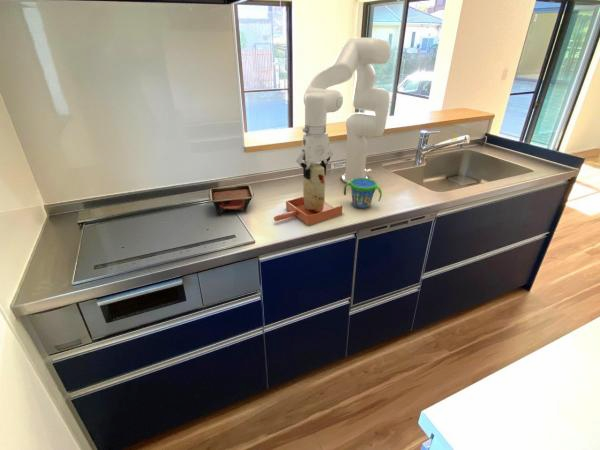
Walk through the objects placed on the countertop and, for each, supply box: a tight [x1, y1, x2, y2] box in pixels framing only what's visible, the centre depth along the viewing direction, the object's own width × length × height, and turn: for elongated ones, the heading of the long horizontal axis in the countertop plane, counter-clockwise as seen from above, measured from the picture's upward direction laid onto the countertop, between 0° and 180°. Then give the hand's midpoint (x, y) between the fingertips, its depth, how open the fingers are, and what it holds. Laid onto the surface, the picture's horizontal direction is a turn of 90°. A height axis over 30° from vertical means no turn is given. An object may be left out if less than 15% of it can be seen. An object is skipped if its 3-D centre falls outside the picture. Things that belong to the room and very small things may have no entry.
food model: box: [302, 162, 326, 213], centre depth 134 cm, size 10×7×20 cm
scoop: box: [273, 195, 343, 226], centre depth 136 cm, size 26×16×4 cm, turn 123°
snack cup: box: [343, 178, 383, 209], centre depth 142 cm, size 16×10×10 cm
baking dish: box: [208, 184, 255, 216], centre depth 142 cm, size 14×18×10 cm
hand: (314, 175), depth 132 cm, fingers closed on food model, 6 cm apart
